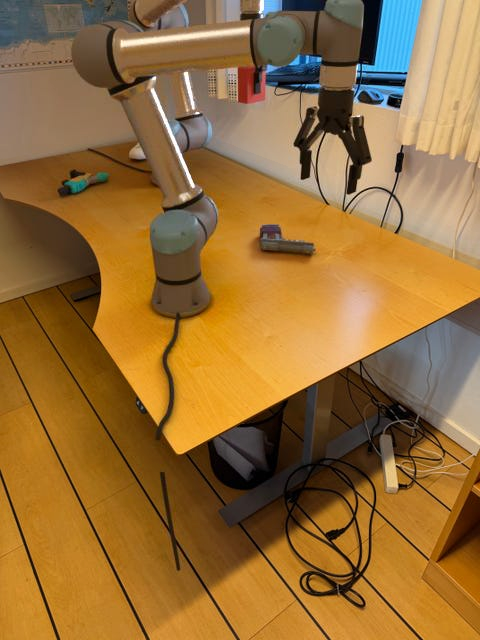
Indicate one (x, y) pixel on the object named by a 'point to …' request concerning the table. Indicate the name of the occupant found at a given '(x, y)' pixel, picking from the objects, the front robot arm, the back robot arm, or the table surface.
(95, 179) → the toy gun
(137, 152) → the sneaker
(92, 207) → the table surface
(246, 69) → the block
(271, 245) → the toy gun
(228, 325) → the table surface
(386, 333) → the table surface
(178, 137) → the back robot arm
